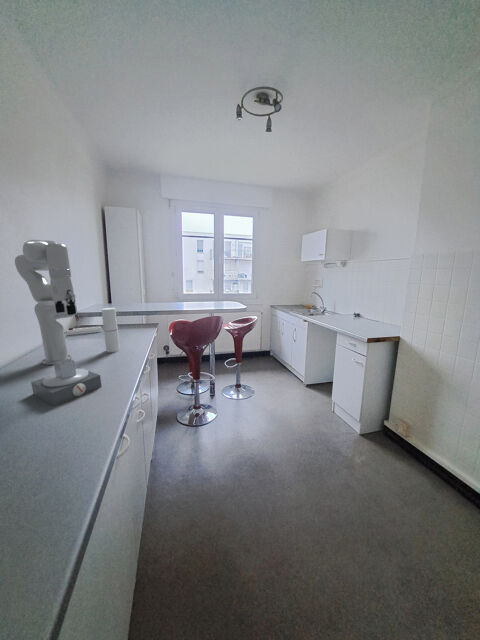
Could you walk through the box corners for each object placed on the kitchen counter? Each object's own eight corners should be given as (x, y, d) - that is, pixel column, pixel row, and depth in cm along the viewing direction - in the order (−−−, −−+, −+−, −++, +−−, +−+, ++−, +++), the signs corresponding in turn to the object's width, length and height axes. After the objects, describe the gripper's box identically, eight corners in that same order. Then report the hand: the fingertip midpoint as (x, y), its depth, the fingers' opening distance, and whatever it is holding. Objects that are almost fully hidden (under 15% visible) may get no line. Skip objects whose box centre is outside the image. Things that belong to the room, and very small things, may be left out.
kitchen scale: (33, 393, 97) (30, 379, 96) (79, 377, 111) (77, 364, 110) (55, 406, 88) (52, 390, 87) (102, 386, 102) (100, 373, 101)
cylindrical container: (106, 353, 143) (101, 310, 138) (106, 349, 150) (101, 308, 145) (120, 351, 147) (115, 309, 142) (119, 347, 153) (115, 307, 148)
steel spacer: (56, 377, 98) (53, 362, 97) (69, 372, 102) (67, 358, 101) (62, 379, 95) (60, 364, 94) (76, 375, 100) (74, 360, 98)
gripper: (40, 273, 108) (47, 313, 111) (60, 274, 99) (66, 316, 103) (60, 273, 114) (65, 310, 118) (80, 273, 105) (85, 313, 109)
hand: (66, 313), depth 110 cm, fingers open, 9 cm apart
